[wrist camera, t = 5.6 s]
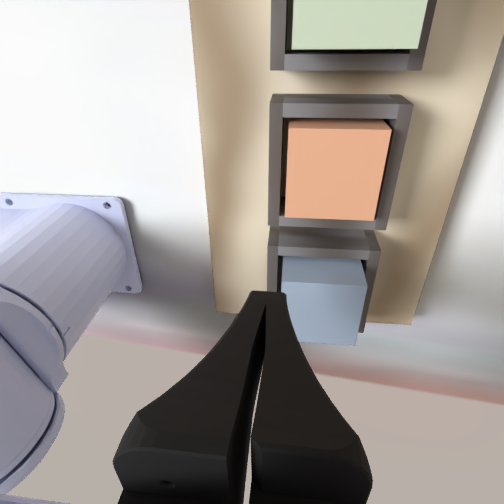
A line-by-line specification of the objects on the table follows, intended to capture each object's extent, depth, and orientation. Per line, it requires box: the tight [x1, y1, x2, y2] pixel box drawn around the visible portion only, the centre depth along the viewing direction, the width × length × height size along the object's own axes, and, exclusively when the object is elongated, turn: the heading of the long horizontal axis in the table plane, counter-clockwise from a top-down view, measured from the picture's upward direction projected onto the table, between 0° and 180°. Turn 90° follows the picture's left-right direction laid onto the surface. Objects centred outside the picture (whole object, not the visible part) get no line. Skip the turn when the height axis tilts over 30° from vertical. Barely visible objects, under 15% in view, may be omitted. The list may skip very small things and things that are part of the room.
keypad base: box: [189, 0, 504, 333], centre depth 19 cm, size 14×24×4 cm, turn 0°
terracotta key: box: [285, 117, 392, 221], centre depth 18 cm, size 4×4×3 cm
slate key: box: [281, 256, 368, 346], centre depth 21 cm, size 4×4×3 cm
